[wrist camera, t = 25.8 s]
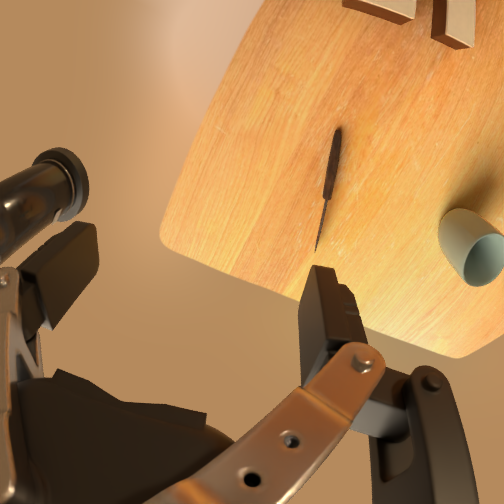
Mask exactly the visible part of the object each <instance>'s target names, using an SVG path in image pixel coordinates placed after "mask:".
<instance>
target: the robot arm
mask: <svg viewBox="0 0 504 504" xmlns="http://www.w3.org/2000/svg"><path fill="white" fill-rule="evenodd" d="M75 197H76V187H75V182H74V179H73V176H72V174H71V172H70V170H69V169H68V168H67V166H66V165H65V164H64V163H62V162H61V161H59V160H57V159H53V158H50V159H46V160H43V161H41V162H40V163H38V164H36V165H34V166H32V167H29V168H27V169H25V170H23V171H21V172H19V173H17V174H15V175H13V176H11V177H9V178H7V179H5V180H3V181H1V182H0V265H1V264H2V263H3V262H4V261H5V260H7V259H8V258H9V257H10V256H11V255H12V254H13V253H15V252H16V251H17V250H18V249H19V248H21V247H22V246H23V245H24V244H25V243H27V242H28V241H29V240H30V239H32V238H33V237H34V236H35V235H37V234H38V233H39V232H40V231H42V230H43V229H44V228H45V227H47V226H48V225H49V224H51V223H52V222H53V223H52V224H54V223H55V222H56V221H57V220H58V218H59V217H60V216H62V215H64V214H66V213H67V212H68V211H69V210H70V209H71V208H72V206H73V204H74V202H75ZM98 267H99V253H98V243H97V231H96V227H95V225H94V224H91V223H85V222H80V221H75V222H74V223H72V224H71V225H70V226H69V227H67V228H66V229H65V230H64V231H63V232H61V233H58V234H56V235H54V236H52V237H51V238H50V239H49V240H47V241H46V242H45V243H44V245H42V246H40V247H39V248H38V250H37V251H35V252H33V253H32V254H31V255H30V256H29V257H28V258H27V259H26V260H25V261H23V262H22V263H21V264H20V265H19V266H18V267H17V268H16V269H15V268H13V267H3V268H0V504H286V503H287V502H288V501H289V500H290V499H291V498H292V497H293V496H294V495H295V494H296V493H297V492H298V491H299V490H300V489H301V487H302V486H303V485H304V484H305V483H306V482H307V481H308V480H309V478H310V477H311V476H312V475H313V474H314V473H315V472H316V470H317V469H318V468H319V467H320V465H321V464H322V463H323V462H324V461H325V459H326V458H327V457H328V456H329V454H330V453H331V452H332V451H333V449H334V448H335V447H336V446H337V444H338V443H339V442H340V440H341V439H342V438H343V436H344V435H345V434H346V432H347V431H348V430H349V429H351V430H354V431H357V432H360V433H363V434H367V435H368V436H369V447H370V461H371V478H372V504H479V498H478V492H477V487H476V481H475V476H474V471H473V466H472V462H471V457H470V453H469V449H468V445H467V441H466V437H465V433H464V429H463V426H462V422H461V419H460V415H459V412H458V408H457V405H456V402H455V399H454V396H453V393H452V390H451V387H450V384H449V382H448V380H447V378H446V377H445V376H444V374H443V373H441V372H440V371H439V370H437V369H435V368H433V367H431V366H419V367H417V368H415V369H414V371H413V372H412V373H411V375H407V374H405V373H402V372H399V371H396V370H392V369H390V368H388V367H386V364H385V360H384V358H383V357H382V355H381V354H380V353H379V352H378V351H377V350H376V349H375V348H373V347H372V346H370V345H368V342H367V338H366V335H365V331H364V327H363V324H362V320H361V317H360V316H359V314H360V313H359V310H358V307H357V303H356V300H355V297H354V294H353V293H352V292H351V291H350V290H349V288H348V287H347V286H346V285H344V284H338V281H337V277H336V273H335V270H334V269H333V268H329V267H323V266H318V265H312V267H311V269H310V272H309V275H308V278H307V281H306V285H305V288H304V291H303V294H302V297H301V300H300V305H299V310H298V325H299V345H300V365H301V386H299V387H297V388H296V389H294V390H293V391H292V392H291V393H290V394H289V395H288V396H287V397H286V398H285V399H284V400H283V401H282V402H281V403H279V404H278V405H277V406H276V407H275V408H274V409H273V410H272V411H271V412H270V413H269V414H267V416H265V417H264V418H263V419H262V420H261V421H260V422H258V423H257V424H256V425H255V426H254V427H253V428H252V429H250V430H249V431H248V432H247V433H246V434H244V435H243V436H242V437H241V438H240V439H239V440H237V441H236V442H234V441H233V440H232V439H231V438H229V437H228V436H226V435H225V434H224V433H222V432H220V431H219V430H217V429H215V428H213V427H211V426H209V425H206V416H207V413H203V412H198V411H193V410H188V409H184V408H179V407H175V406H171V405H167V404H151V403H133V402H123V401H120V400H118V399H117V398H115V397H113V396H112V395H110V394H108V393H107V392H105V391H104V390H102V389H101V388H99V387H98V386H96V385H95V384H93V383H92V382H90V381H89V380H86V379H83V378H81V377H78V376H75V375H73V374H70V373H68V372H65V371H63V370H60V369H57V370H56V372H55V374H54V375H53V377H52V378H45V377H44V373H43V364H42V356H41V345H40V335H39V332H38V329H39V328H40V326H42V327H44V328H47V329H49V330H53V329H54V328H55V327H56V325H57V324H58V323H59V321H60V320H61V319H62V317H63V316H64V315H65V313H66V312H67V311H68V309H69V308H70V307H71V305H72V304H73V303H74V301H75V300H76V299H77V298H78V296H79V295H80V294H81V292H82V291H83V290H84V289H85V287H86V286H87V285H88V284H89V283H90V281H91V280H92V279H93V278H94V276H95V275H96V273H97V271H98Z"/></svg>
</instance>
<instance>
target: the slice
mask: <svg viewBox="0 0 504 504" xmlns="http://www.w3.org/2000/svg"><path fill="white" fill-rule="evenodd" d="M475 16H476V0H433V18H432V31H431V38H432V39H434V40H436V41H439V42H441V43H443V44H445V45H447V46H449V47H451V48H453V49H456V50H457V49H465V48H473V47H474V39H475Z"/></svg>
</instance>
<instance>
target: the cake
mask: <svg viewBox="0 0 504 504" xmlns="http://www.w3.org/2000/svg"><path fill="white" fill-rule="evenodd" d="M416 1H417V0H342V6H343V7H347V8H350V9H354V10H357V11H361V12H364V13H367V14H370V15H373V16H376V17H379V18H382V19H385V20H388V21H390V22H393V23H396V24H398V25H402V24H404V23H406V22H408V21H410V20H412V19H415V11H416Z"/></svg>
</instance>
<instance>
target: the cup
mask: <svg viewBox="0 0 504 504" xmlns="http://www.w3.org/2000/svg"><path fill="white" fill-rule="evenodd" d="M438 241H439V245H440V247H441V250H442V252H443V254H444V255H445V257H446V258H447V260H448V261H449V263H450V264H451V265H452V267H453V268H454V269H455V271H456V272H457V273H458V274H459V276H460V277H461V278H462V279H463V281H464V282H465V283H467V284H468V285H470V286H476V287H478V286H483V285H486V284H488V283H490V282H492V281H493V280H494V279H495V278H496V277H497V276H498V275H499V274H500V272H501V271H502V269H503V267H504V235H503V234H502V233H501V232H500V231H499V230H498V229H497V228H495V227H494V226H493V225H492V224H491V223H489V222H488V221H487V220H486V219H484V218H483V217H482V216H480V215H479V214H477V213H475V212H473V211H471V210H468V209H464V208H457V209H453V210H450V211H449V212H447V213H446V214H445V215H444V216H443V218H442V220H441V222H440V224H439V228H438Z"/></svg>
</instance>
